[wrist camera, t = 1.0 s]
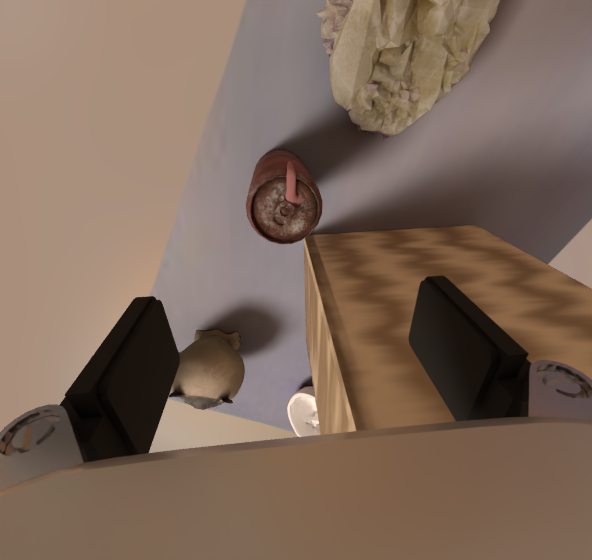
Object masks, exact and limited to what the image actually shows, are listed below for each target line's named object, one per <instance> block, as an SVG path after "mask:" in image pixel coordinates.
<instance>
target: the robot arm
mask: <svg viewBox="0 0 592 560" xmlns="http://www.w3.org/2000/svg"><path fill="white" fill-rule="evenodd" d="M408 338H409V344H410V346H411V348H412V350H413V351H414V353H415V355H416V356H417V358H418V360H419V361H420V363H421V365H422V366H423V368H424V369H425V371H426V373H427V374H428V376H429V378H430V379H431V381H432V383H433V384H434V386H435V388H436V389H437V391H438V392H439V394H440V396H441V397H442V399H443V401H444V402H445V404H446V406H447V407H448V409H449V411H450V412H451V414H452V415H453V417H454V419H455V420H456V422H446V423H435V424H425V425H414V426H404V427H393V428H383V429H373V430H363V431H353V432H343V433H333V434H323V435H313V436H303V437H293V438H284V439H274V440H264V441H255V442H245V443H236V444H227V445H217V446H208V447H199V448H189V449H181V450H172V451H163V452H156V453H149V450H150V447H151V444H152V441H153V438H154V435H155V433H156V430H157V427H158V424H159V421H160V418H161V416H162V413H163V410H164V407H165V404H166V402H167V399H168V396H169V393H170V390H171V387H172V385H173V382H174V379H175V376H176V373H177V370H178V368H179V364H180V357H179V353H178V350H177V347H176V344H175V341H174V338H173V335H172V332H171V329H170V326H169V323H168V320H167V317H166V314H165V311H164V307H163V304H162V302H161V301H160V300H156V298H155V297H153V296H150V297H137V298H135V299H134V300H133V301H132V302H131V304H130V305H129V307H128V308H127V309H126V311H125V312H124V313H123V315H122V316H121V318H120V319H119V321H118V322H117V323H116V325H115V326H114V327H113V329H112V330H111V332H110V333H109V335H108V336H107V337H106V338H105V340H104V341H103V343H102V344H101V346H100V347H99V348H98V350H97V351H96V352H95V354H94V355H93V356H92V358H91V359H90V361H89V362H88V364H87V365H86V366H85V368H84V369H83V370H82V372H81V373H80V374H79V376H78V377H77V379H76V380H75V381H74V383H73V384H72V386H71V387H70V388H69V390H68V391H67V392H66V394H65V396H66V397H65V398H64V400H63V401H62V402H61V404H60V405H46V406H41V407H38V408H35V409H33V410H31V411H28V412H26V413H24V414H23V415H21V416H20V417H18V418H16V419H15V420H14V421H12V422H11V423H10V424H8V425H7V426H6V427H5V428H4V429H3V430H2V431H1V432H0V560H592V380H591V379H590V378H589V377H587V376H586V375H585V374H583V373H582V372H580V371H578V370H576V369H575V368H573V367H571V366H568V365H566V364H563V363H560V362H556V361H551V360H539V361H535V362H534V363H531V362H529V361H528V360H527V359H526V358H527V356H528V354H529V353H528V352H527V351H525V350H524V349H523V348H522V347H521V346H520V345H519V344H518V343H517V342H516V341H515V340H514V339H512V338H511V337H510V336H509V335H508V334H507V333H506V332H505V331H504V330H503V329H502V328H501V327H500V326H498V325H497V324H496V323H495V322H494V321H493V320H492V319H491V318H490V317H489V316H488V315H487V314H485V313H484V312H483V311H482V310H481V309H480V308H479V307H478V306H477V305H476V304H475V303H474V302H472V301H471V300H470V299H469V298H468V297H467V296H466V295H465V294H464V293H463V292H462V291H461V290H459V289H458V288H457V287H456V286H455V285H454V284H453V283H452V282H451V281H450V280H449V279H448V278H447V277H445V276H443V275H440V276H427V277H426V278H425V279H424V281H421V283H420V286H419V290H418V295H417V299H416V304H415V309H414V313H413V318H412V323H411V327H410V332H409V337H408Z"/></svg>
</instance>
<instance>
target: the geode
mask: <svg viewBox="0 0 592 560" xmlns="http://www.w3.org/2000/svg"><path fill="white" fill-rule="evenodd" d="M500 1H501V0H327V2H326V7H325V8H324V9H322V10H321V11H319V12H318V13H317V14H318V15H319V16H320V17H321V18H322V23H321V39H322V40H325V41H324V43H323V45H324V47H325V49H326V53H328V54H329V57H330V58H329V59H330V83H331V88H332V93H333V96H334V99H335V101H336V103H338V104H340V105H341V106H342V107H343V108H344V109H347V110H346V111H348V110H349V109H350V111H349V113H348V114H349V116H350V118H351V120H352V123H355V124H357V126H358V131H360V132H361V133H365V132H373V134H378V133H380V134H383V139H385V138H388V137H390V136H393V135H397V134H399V133H400V132H401V131H403V130H404V129H405V128H407V127H408V126H409V125H410V124H412V123H413V122H414V121H415V120H417V119H418V118H419V117H421V116H422V115H423V114H425V113H426V112H427V111H429V110H431V108H432V106H433V105H434V104H435V103H437V102H438V101H439V100H440V99H441V98H442V97H444V96H445V95H446V94H447V93H448V92H450V91H451V89H452V87H453V85H454V84H456V83H458V82H459V81H460V80H462V79H463V78H464V77H465V76H466V75H467V73H468V72H469V70H470V65H471V63H472V60H473V58H474V56H475V54H476V53H477V51H478V50H479V48H480V46H481V44H482V43H483V41H484V39H485V37H486V36H487V35H488V33H489V32H490V27H489V23H490V22H491V20H492V19H493V18H494V16H495V14H496V11H497V7H498V4H499V2H500ZM325 42H326V43H325Z"/></svg>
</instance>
